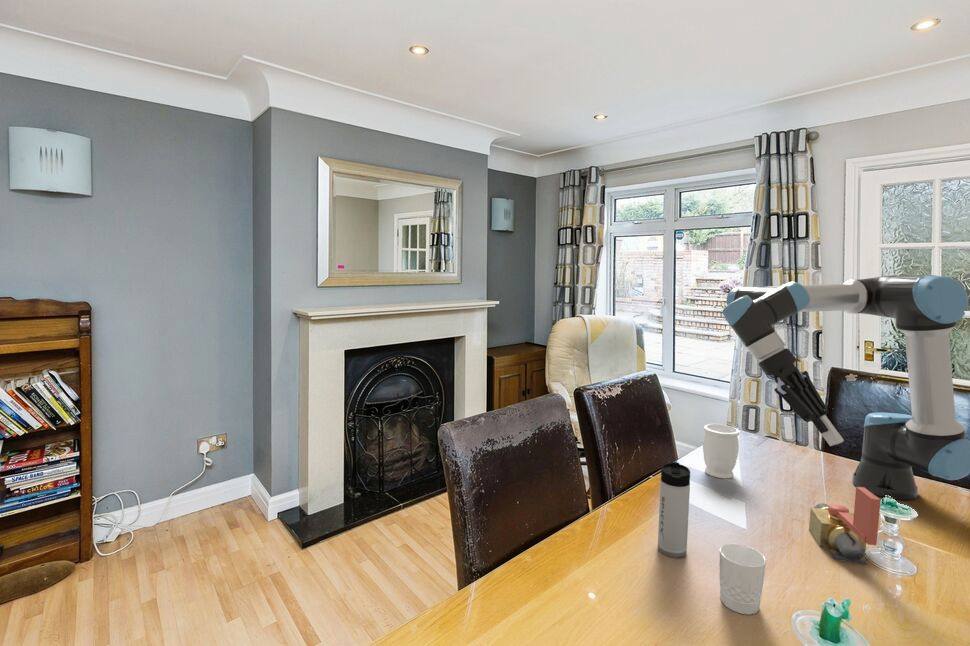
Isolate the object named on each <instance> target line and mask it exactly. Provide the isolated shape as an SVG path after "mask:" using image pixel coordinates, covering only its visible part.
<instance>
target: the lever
mask: <svg viewBox="0 0 970 646" xmlns="http://www.w3.org/2000/svg"><path fill="white" fill-rule="evenodd" d="M881 500H882V499H880V498H879V496H877V495H874V494H872V493H871V492H870V491H868V490H867V489H866V488H864V487H856V486H855V496H854V506H853V507H854V508H853V513H854V518H853V517H852V516H851V515H850V514H849V513H850V509H849V508H847V507H846V506H844V505H842V504H836V503H830V504H827V505H828V512H829V513H830V514H831V515H834V516H837V517H838V518H840V519H841V520H842V521H843V522H844V523H845V524H846V525H847V526H848V527H849V528H850V529H851V530H852V531H853V532H854V533H855V534H856V535H857V536H858V537H860V538H861V539H862V540H863V541H864V542H866V545H869V546H877V544H878V534H879V533H878V532H879V531H878V530H879V524H880V510H881Z"/></svg>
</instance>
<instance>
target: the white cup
mask: <svg viewBox="0 0 970 646" xmlns="http://www.w3.org/2000/svg"><path fill="white" fill-rule="evenodd" d="M766 562H767V560H766V557H765V556H764V554H763V553H761V552H760V551H759V550H757V549H755V548H752V547H750V546H748V545H745V544H740V543H726V544H725V543H724V544H723V545H721V546H720V548H719V587H720V590H719V591H720V593H719V595H720V597H719V598H720V602H721V603H722V604H723V605H724V607H726V608H728V609H729V610H731V611H733V612H735V613H739V614H741V615H747V616H748V615H750V616H751V615H754V614H757V612H758V611H759V610H760V607H761V606H760V605H761V597H762V595H763V594H762V593H763V588H764V581H765V580H764V579H765V572H766V571H765V570H766V564H767V563H766Z"/></svg>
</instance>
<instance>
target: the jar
mask: <svg viewBox="0 0 970 646" xmlns="http://www.w3.org/2000/svg"><path fill="white" fill-rule="evenodd" d="M703 430H704V431H705V432H704V434H703V438H702V439H703V440H702V451H703V460H704V464H705V468H704V471H705V473H706V474H707V475H709V476H711V477H713V478H717V479H731V478H733V477H734V472H733V470H734V469H735V467H736V464H737V460H738V456H739V449H740V447H739V445H740V444H739V442H740V441H739V438H738V437H739V435H740V430H739V429H738V428H736V427H735V426H731V425H726V424H722V423H721V424H720V423H709V424H705V425H704V426H703Z"/></svg>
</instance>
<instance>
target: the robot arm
mask: <svg viewBox="0 0 970 646" xmlns="http://www.w3.org/2000/svg"><path fill="white" fill-rule="evenodd" d="M968 307H969V296H968V292H967V291H966V288H965V287H964V286H963V284H961V283H960V282H959V281H957V280H956V279H954V278H953V277H950V276H944V275H936V274H935V275H933V274H924V275H923V274H922V275H921V274H920V275H919V274H917V275H916V274H915V275H914V274H913V275H912V274H911V275H898V274H897V275H896V274H894V275H884V276H878V277H877V276H874V277H870V278H869V277H868V278H861V279H849V280H847V281H846V280H845V282H843V283H827V284H824V283H823V284H822V283H821V284H800V283H799V282H797V281H789V282H787V283H783V284H782V285H775V286H774V285H769V286H744V285H743V286H738V287H734V288H732V289H730V291H729V292H728V293H727V296H726V306H725V307H723V310H722V315H723V317H724V318H725V320H726V322H727V324H728V325H729V327H731V329H732V330H733V332H735V334H736V336H737V337H738V338H739V340H740V341H741V342H742V344H743V345H744V346H745V348H746V349H747V351H748V353H749V354H750V355H751V356H752V357H753V359H754V360H755V361H759V362H758V366H759V367H760V369H761V370H762V373H764V374H765V375H766V376H772V377H773V379H774V382H775V383H776V384H777V387H776V388H774V389H773V390H774V392H775V394H777V395H779V396H780V397H781V398H782V399H783V400H784V401H785V402H786V403H787V404H788V405H789V406H790V407H791V408H792V410H794V412H795V413H796V414H797V415H798V416H799V417H800V419H802V421H804V422H806V423H809V422H812V423H813V425H814V426H815V427H816V429H817V430H818V432H819V434H820V435H821V436H822V437H823V438H824V440H825V441H826V443H827V444H828V445H829V447H833V446H836V445H838V444H841V443H843V442H844V441H845V440H844V438H843V437H842V435H841V434H840V433H839V432H838V430H837V429H836V427H835V425H834V424H832V422H831V420H830V419H829V418H828V416H827V415H826V414H829V410H828V408H827V406H826V404H825V402H824V401H823V399H822V397H821V395H820V393H819V392H818V390H817V388H816V387H815V385H814V383H813V381H812V380H811V377H810V374H809V372H808V371H807V370H803V371H800V369H798V367H796V366H795V365H794V364H795V363H796V362H797V358H796V357H795V355H794V354H793V353H792V351H791V349H790V348H787V347H786V343H785V342H784V341H783V339H782V338H781V337H780V335H779V334H778V332H777V331H776V330H775V329H774V327H773V326H774V325H776V324H777V323H780V322H781V321H784V320H785V319H788V318H790V317H791V316H793V315H795V314H799V313H805V312H807V313H808V312H811V313H812V312H832V311H833V312H836V311H844V312H846V313H848V314H862V315H872V316H877V317H883V318H891V319H895V326H896V330H898V331H899V332H901V333H902V334H904V343H905V344H904V345H905V353H906V365H907V375H908V377H907V378H908V387H909V398H910V399H909V400H910V409H911V415H910V414H904V413H896V412H882V411H881V412H880V411H879V412H870V413H868V414H867V415H866V416H865V418H864V424H863V432H862V434H863V435H862V447H861V448H862V449H861V451H862V452H861V459H860V461H859V463H858V464H857V467H856V469H855V471H854V472H853V474H852V482H851V483H852V484H853V486H854V487H855V488H856V487H864V488H866V489H867V490H868V491H870V492H871V493H872V494H874V495H875V496H876V497H882V498H884V497H883V496H885V495H889V496H891V497H893V498H895V499H894V500H898V501H900V500H901V501H910V500H911V501H912V500H916V499H917V498H918V493H919V491H918V486H917V484H916V480H915V477H914V473H913V468H915V469H917V470H919V471H922V472H925V473H927V474H929V475H931V476H934V477H938V478H941V479H944V480H948V481H956V480H957V481H958V480H960V479H963V478H965V477H968V476H969V475H970V439H968V438H966V434H965V433H966V431H965V426H964V425H963V424H962V423H960V422H959V421H957V419H956V408H955V407H956V406H955V397H954V396H955V395H954V393H955V392H954V383H953V371H952V357H951V345H950V332H952V331H953V330H954V329H955V328H956V327H957V322H958V321H959V320H961V319H963V317H964V316H965V314H966V313H965V311H967V310H968Z"/></svg>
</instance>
